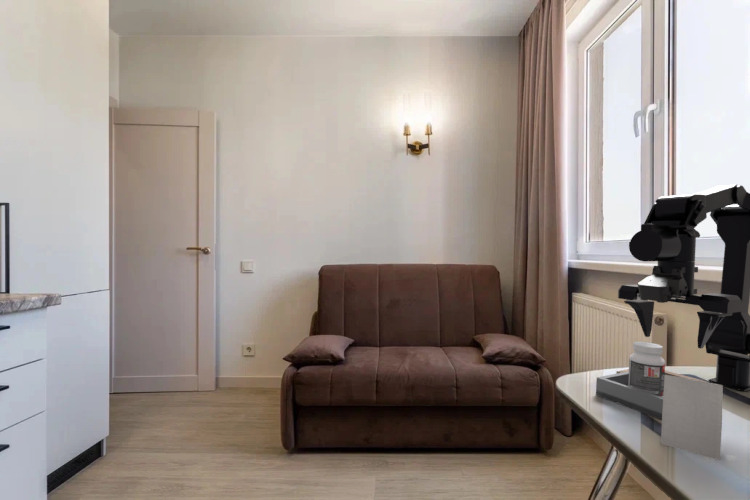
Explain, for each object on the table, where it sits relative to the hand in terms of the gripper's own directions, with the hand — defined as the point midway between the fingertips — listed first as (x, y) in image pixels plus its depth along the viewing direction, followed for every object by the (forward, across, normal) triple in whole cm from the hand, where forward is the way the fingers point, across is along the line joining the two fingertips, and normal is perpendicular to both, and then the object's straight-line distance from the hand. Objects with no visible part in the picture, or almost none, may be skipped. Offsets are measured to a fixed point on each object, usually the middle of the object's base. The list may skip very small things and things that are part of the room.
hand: (672, 342), depth 78 cm
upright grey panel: (+11, +11, -18) cm, 24 cm away
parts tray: (+11, -2, -5) cm, 13 cm away
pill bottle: (+10, -2, -5) cm, 12 cm away
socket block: (+12, -6, +8) cm, 15 cm away
